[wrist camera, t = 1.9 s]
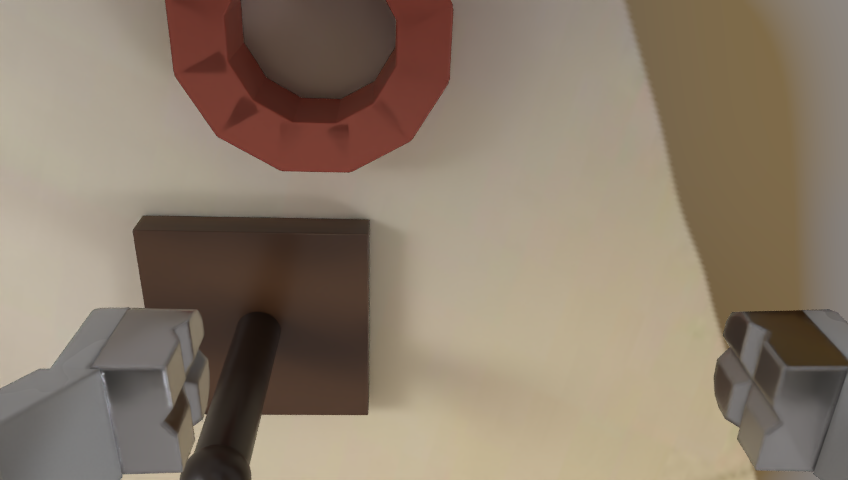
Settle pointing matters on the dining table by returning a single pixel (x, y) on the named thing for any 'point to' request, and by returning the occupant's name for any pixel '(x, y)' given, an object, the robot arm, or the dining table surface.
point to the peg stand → (264, 320)
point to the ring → (309, 117)
